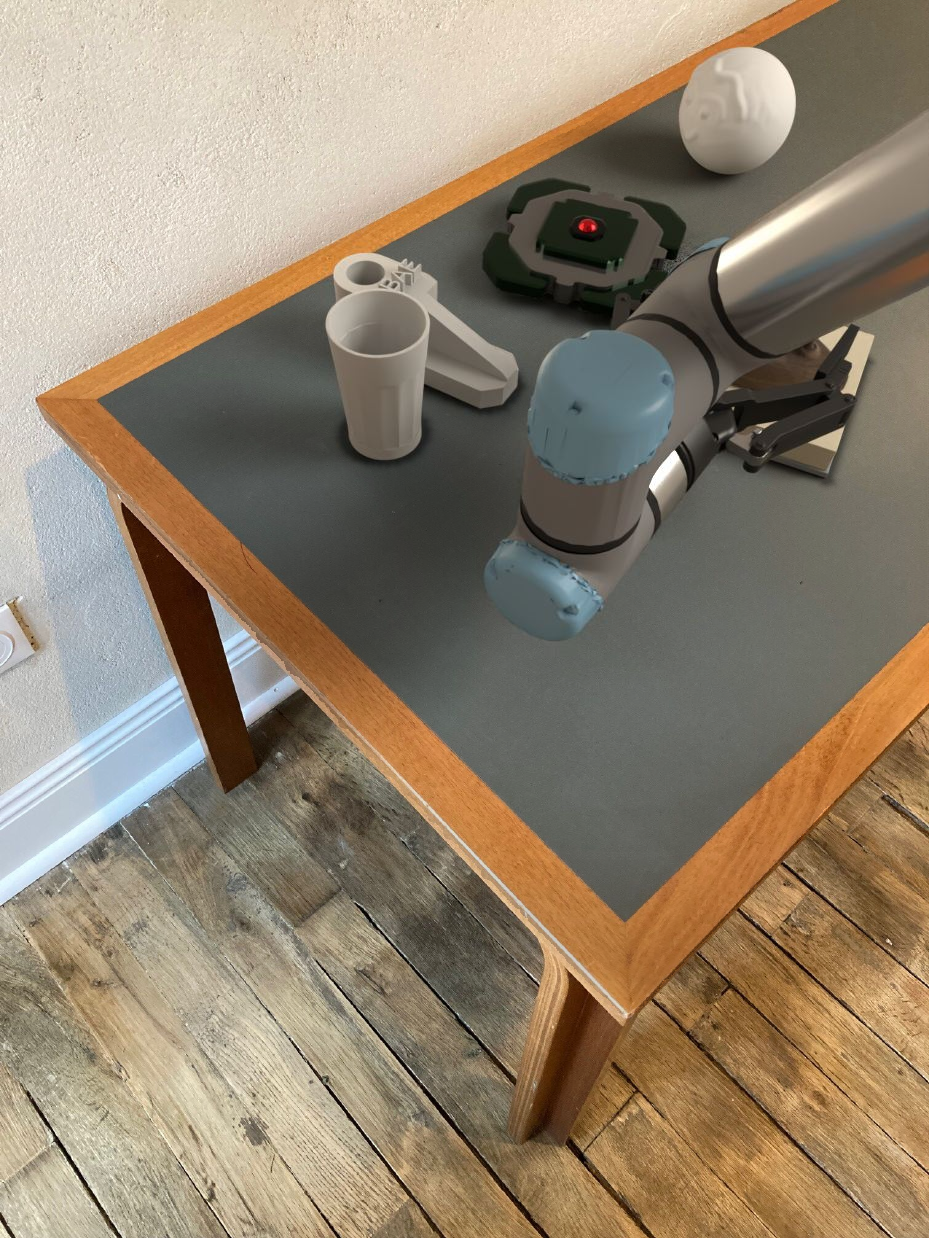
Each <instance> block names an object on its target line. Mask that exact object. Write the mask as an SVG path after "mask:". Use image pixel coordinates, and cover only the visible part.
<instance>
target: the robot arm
mask: <svg viewBox="0 0 929 1238" xmlns="http://www.w3.org/2000/svg"><path fill="white" fill-rule="evenodd" d="M928 287H929V107H928V108H926V109H925V110H924V111H922V112H920V113H919V114H917V115H916V116H914V117H912V118H911V119H910V120H908V121H907V122H905V123H904V124H902V125H900V126H899V127H898V128H896V129H895V130H893V131H891V132H890V133H888V134H887V135H885V136H884V137H882V138H880V139H879V140H877V141H875V143H873V144H872V145H870V146H868V147H867V148H865V149H864V150H862V151H861V152H859V153H857V154H856V155H855V156H853V157H852V158H850V159H849V160H847V161H845V162H844V163H842V164H841V165H839V166H838V167H836V168H835V169H833V170H832V171H830V172H828V173H827V174H825V175H824V176H822V177H821V178H819V179H818V180H816V181H815V182H813V183H811V184H810V185H808V186H807V187H805V188H804V189H803V190H800V191H799V192H798V193H796V194H795V195H793V196H791V197H790V198H789V199H787V200H785V201H784V202H782V203H781V204H779V205H778V206H776V207H775V208H773V209H772V210H770V211H768V212H767V213H765V214H764V215H762V216H761V217H760V218H758V219H757V220H755V221H753V222H751V223H750V224H749V225H747V226H746V227H744V228H743V229H741V230H740V231H738V232H737V233H735V234H733V235H732V236H725V237H723V236H721V237H717V238H714V239H712V240H710V241H707V242H706V243H704V244H702V245H701V246H700V247H699V248H698V249H696V250H695V251H693V252H692V253H690V254H689V255H687V256H686V257H685V258H683V260H681V261H680V262H679V263H678V264H676V265H675V266H673V268H672V269H671V270H670V271H669V272H668V275H667V277H666V279H665V280H664V281H663V282H661V283H659V284H658V285H657V286H656V287H655V288H654V290H651V289H646V290H643V291H642V292H641V297H640V301H637V300H631V297H630V295H628V294H627V293H619V294H617V295H616V299H615V304H614V309H613V314H612V318H611V320H610V329H609V330H608V329H595V330H589V331H586V332H585V333H584V334H583V335H581V336H578V337H576V338H573V337H567V338H565V339H564V340H562V341H559V342H558V343H557V344H556V345H555V346H553V348H552V349H550V351H549V352H548V353H547V354H546V356H545V357H544V358H543V360H542V362H541V364H540V367H539V369H538V372H537V376H536V382H535V387H534V391H533V394H532V396H531V398H530V407H529V409H528V410H527V421H526V440H525V441H526V442H525V453H524V463H523V474H522V485H521V493H520V496H519V501H518V502H519V503H518V509H517V510H518V511H517V519H516V524H515V527H514V529H513V530H512V531H511V533H510V534H509V536H507V537H506V538H503V539H502V540H500V542H499V543H498V547H497V549H496V550H495V551H494V553H493V554H492V556H491V557H490V559H489V560H488V562H487V563H486V565H485V568H484V572H483V582H484V588H485V591H486V593H487V595H488V597H489V600H490V601H491V603H492V604H493V605H494V607H495V608H496V609H497V610H498V612H499V613H500V614H501V616H503V617H504V618H505V619H506V620H507V621H508V622H510V624H512V625H514V626H515V627H516V628H518V629H520V630H521V631H523V632H525V633H527V634H528V635H529V636H532V637H535V638H537V639H540V640H544V641H547V642H548V641H549V642H564V641H567V640H569V639H572V638H574V637H575V636H577V635H578V634H579V633H580V631H581V630H582V629H584V627H585V626H586V625H587V624H588V623H589V622H590V620H591V619H592V618H593V617H594V616H595V615H596V614H597V613H598V612H601V611H602V609H603V608H604V607H605V606H604V603H605V602H606V600H608V598H609V596H610V595H611V593H612V592H613V591H614V590H615V588H616V587H617V585H618V584H619V583H620V581H621V580H622V579H623V577H624V576H625V575H626V574H627V572H628V571H629V570H630V568H631V567H632V565H633V564H634V562H635V561H636V560H637V558H638V557H639V556H640V555H641V554H642V552H643V551H644V549H645V548H646V547H647V545H648V544H649V542H650V541H651V540H652V538H653V537H654V536H655V535H656V533H657V532H658V530H659V529H660V528H661V526H662V525H663V524H664V523H665V521H666V520H667V519H668V517H669V516H670V515H671V514H672V512H673V511H674V510H675V509H676V507H677V506H678V505H679V503H680V502H681V501H682V500H683V498H684V496H685V495H686V494H687V493H688V492H689V491H690V489H691V488H692V487H693V486H694V484H695V483H696V482H697V481H698V479H699V477H700V476H701V475H702V474H703V472H704V471H705V470H706V468H707V467H708V466H709V464H710V463H711V462H712V461H713V460H714V458H715V457H716V456H717V455H718V454H720V453H723V452H726V451H730V452H731V453H732V454H734V455H736V456H737V457H739V458H741V459H742V460H744V461H743V462H742V463H743V464H742V468H743V470H744V471H745V472H746V473H749V474H756V473H758V472H759V471H760V470H761V469H762V468H764V466H765V465H766V464H767V463H768V462H769V461H770V459H771V458H773V457H775V456H778V455H780V454H782V453H785V452H787V451H789V450H792V449H794V448H796V447H799V446H801V445H803V444H806V443H808V442H810V441H813V440H815V439H817V438H820V437H822V436H824V435H827V434H829V433H831V432H834V431H836V430H838V429H840V428H843V427H844V426H845V427H846V424H847V422H848V420H849V419H850V416H851V415H852V413H853V410H854V408H855V406H856V404H857V402H858V398H857V397H856V395H855V396H854V395H852V394H849V393H845V394H843V393H842V392H841V391H840V388H841V387H842V385H843V384H844V382H845V381H846V379H847V377H848V375H849V373H850V370H851V368H852V363H851V362H849V361H847V360H845V357H846V356H847V355H848V352H849V350H850V348H851V346H852V344H853V342H854V340H855V338H856V335H857V333H858V331H860V329H861V327H860V326H858V325H856V324H853V323H854V322H856V321H858V320H860V319H862V318H865V317H866V316H868V315H870V314H873V313H875V312H877V311H880V310H882V309H883V308H886V307H888V306H890V305H892V304H894V303H897V302H898V301H900V300H902V299H905V298H907V297H909V296H911V295H913V294H915V293H917V292H919V291H922V290H923V289H926V288H928ZM847 325H848V326H847ZM843 326H845V327H846V326H847V327H848V329H847V330H846V331H845V333H844V334H843V336H842V337H841V338H840V340H839V341H838V342H837V344H836V345H835V347H834V348H833V349H832V351H831V352H830V353H829V355H828V356H827V358H826V359H825V360H824V362H823V363H822V364H821V366H820V367H819V369H818V370H817V372H816V374H815V377H814V379H813V381H808V382H802V383H797V384H791V385H785V386H780V387H774V388H768V389H762V390H757V391H749V389H748V388H741V389H735V390H729V391H726V390H727V388H728V387H729V386H730V385H731V384H732V383H733V382H734V381H735V380H736V379H738V378H739V377H741V376H742V375H744V374H746V373H748V372H750V371H752V370H754V369H756V368H758V367H760V366H762V365H764V364H767V363H769V362H771V361H773V360H775V359H777V358H779V357H781V356H783V355H785V354H787V353H789V352H790V351H792V350H794V349H796V348H799V347H801V346H803V345H805V344H807V343H809V342H811V341H813V340H816V339H818V338H820V337H822V336H824V335H826V334H828V333H830V332H833V331H835V330H837V329H839V328H841V327H843ZM732 407H734V409H732ZM776 421H777V422H776ZM770 422H775V423H773V424H771V425H769V426H767V427H766V428H765V429H764V430H761V429H759V428H756V429H754V431H753V432H751V433H749V434H747V435H741V434H738V433H739V432H742V431H743V430H744V429H746V428H747V427H749V426H754V425H759V424H765V423H770ZM845 427H844V428H845Z"/></svg>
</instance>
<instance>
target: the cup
mask: <svg viewBox="0 0 929 1238" xmlns="http://www.w3.org/2000/svg"><path fill="white" fill-rule="evenodd" d="M429 328H430V318H429V315H428V312H427V310H426V309H425V307H424V306H423V305H422V304H421V303H420V302H419V301H418V300H417V299H415V298H414V297H412V296H410V295H408V294H406V293H403V292H400V291H396V290H392V289H382V288H376V289H366V290H361V291H357V292H354V293H352V294H349V295H347V296H345V297H344V298H342V299H340V300H339V301H338V302H337V303H336V302H335V303H334V304H333V305H332V306H331V308H330V309H329V311H328V312H327V315H326V317H325V331H326V335H327V339H328V344H329V348H330V352H331V356H332V361H333V364H334V370H335V375H336V378H337V383H338V387H339V392H340V396H341V401H342V406H343V411H344V415H345V419H346V424H347V430H348V431H347V432H348V438H349V442H350V444H351V446H352V447H353V449H355V450H356V451H357V452H358V453H359V454H361V455H362V456H365V457H366V458H369V459H372V460H379V461H390V460H391V461H392V460H396V459H399V458H402V457H405V456H407V455H409V454H410V453H412V452H413V451H414V450H415V449H416V448H417V447H418V445H419V443H420V442H421V439H422V411H423V410H422V409H423V399H424V398H423V397H424V385H425V384H424V374H425V362H426V358H427V348H428V338H429Z"/></svg>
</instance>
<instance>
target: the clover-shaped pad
mask: <svg viewBox="0 0 929 1238" xmlns="http://www.w3.org/2000/svg"><path fill="white" fill-rule="evenodd" d="M591 188H592V187H590V186H589V185H588V184H583V183H579V182H575V181H570V180H565V179H561V178H556V177H547V178H542V179H539V180H535V181H532V182H528V183H524V184H521V185H520V186H518V187H517V188H516V190H515V192H514V194H513V195H512V197H511V199H510V201H509V203H508V205H507V207H506V218H505V219H506V220H507V231H503V230H496V231H493V233H492V235H491V237H490V239H489V241H488V242H487V244H486V245H485V248H484V250H483V251H482V252H481V253H482V254H481V269H482V271H483V272H484V273H485V275H486V276H487V277H488V279H489V280H490V281H491V283H492V284H493V285H494V287H495V288H497V289H498V290H500V291H502V292H506V293H510V294H514V295H518V296H522V297H526V298H530V299H533V300H541V299H544V296H545V294H550V295H552V296H553V301H555V302H557V303H560V304H563V305H570V304H571V303H572V301H579V304H578V305H579V306H578V308H579V309H580V311H582V312H585V313H589V314H593V315H597V316H601V317H605V318H610V319H612V314H613V309H614V304H615V299H616V295H617V294H619V293H627V294H628V295H630V297H631V300H637V301H640V297H641V292H642V291H643V290H646V289H651V290H654V288H655V287H656V286H657V285H658V284H659V283H661V282H663V281H664V280H665V279H666V277H667V275H668V273H669V272H668V271H667V270H665V269H664V268H665V263H666V260H667V261H675V260H677V258H678V256H679V253H680V250H681V248H682V245H683V242H684V240H685V237H686V233H687V223H686V222H685V221H684V219H682V218H681V217H680V215H678V214H677V212H675V210H674V209H673V208H671V206H669V205H668V204H665V203H663V202H658V201H654V200H649V199H645V198H641V197H637V196H632V195H627V196H624V198H623V199H618V198H616V197H614V196H615V194H614V193H612V192H610V191H607V190H597V192H595V193H593V192H591V190H592V189H591Z"/></svg>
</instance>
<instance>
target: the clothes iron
mask: <svg viewBox="0 0 929 1238" xmlns="http://www.w3.org/2000/svg"><path fill="white" fill-rule="evenodd" d="M830 352H831V351H830V350H829V349H828V348H827V347H826V346H825V345H824V344H823V343H822V342H821V341H820V340H819V339H816V340H813V341H811V342H809V343H807V344H805V345H803V346H801V347H799V348H796V349H794V350H792V351H790V352H789V353H787V354H785V355H783V356H781V357H779V358H777V359H775V360H773V361H771V362H769V363H767V364H764V365H762V366H760V367H758V368H756V369H754V370H752V371H750V372H748V373H746V374H744V375H742V376H741V377H739V378H738V379H736V380H735V381H734V382H733V383H732V384H733V385H738V386H741V387H745V388H749V389H752V390H762V389H768V388H774V387H780V386H785V385H791V384H797V383H802V382H808V381H813V379H814V377H815V374H816V372H817V370H818V369H819V367H820V366H821V364H822V363H823V362H824V360H825V359H826V358H827V356H828V355H829V353H830ZM848 378H849V376H848V377H847V379H846V381H845V382H844V384H843V385H842V387H841V388H840V391H842V390H843V389H844V387H845V385H846V383H847V381H848Z"/></svg>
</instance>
